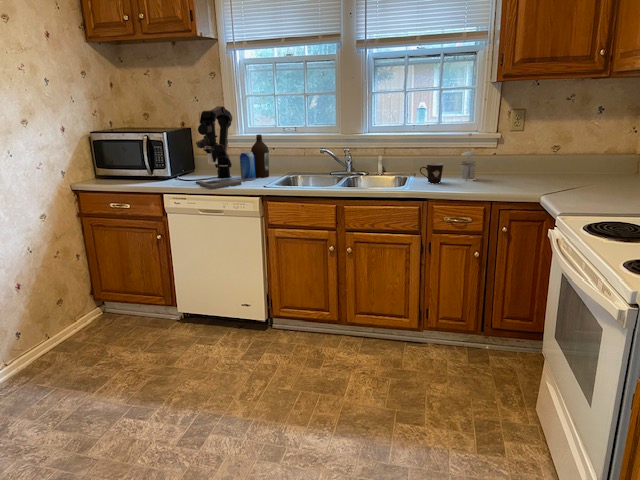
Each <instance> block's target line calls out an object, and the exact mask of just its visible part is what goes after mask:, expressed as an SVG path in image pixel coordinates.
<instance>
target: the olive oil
mask: <svg viewBox="0 0 640 480" xmlns="http://www.w3.org/2000/svg"><path fill="white" fill-rule="evenodd" d="M255 136H256V138H255V139H256V141H255V143H254V144H253V145H252V146H251V149H250V152H252V153H253V155H254V159H255V175H256V177H255V179H263V178H269V177H270V149H269V147H268V146H267V144H266V143H265V142H264V141H263V136H262V134H256V135H255Z"/></svg>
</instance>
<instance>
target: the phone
mask: <svg viewBox="0 0 640 480" xmlns="http://www.w3.org/2000/svg"><path fill="white" fill-rule="evenodd" d="M200 182H205V181H204V180H198V181H197V180H196V181H195V184H196V185H199V186H200Z"/></svg>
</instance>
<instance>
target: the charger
mask: <svg viewBox="0 0 640 480" xmlns="http://www.w3.org/2000/svg"><path fill="white" fill-rule="evenodd" d="M206 156H207V163H208V165H210V166H211V165H215V164H218V162H217V159H216V162H213V158H212V153H206Z"/></svg>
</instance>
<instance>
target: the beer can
mask: <svg viewBox="0 0 640 480" xmlns="http://www.w3.org/2000/svg"><path fill="white" fill-rule="evenodd" d="M239 167H240V177H241V179H242V181H244V182H245V181H255V179H256V178H255V177H256V175H255V159H254V155H253V153H252V152H251V151H241V152H240V155H239Z"/></svg>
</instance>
